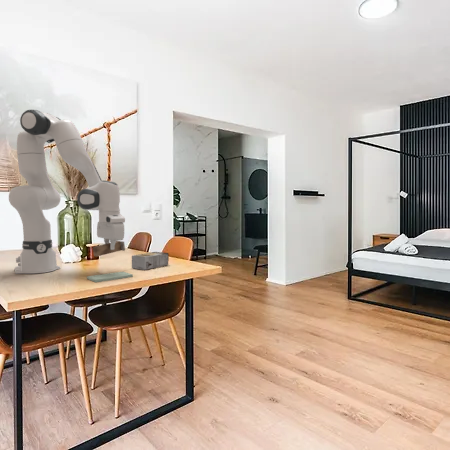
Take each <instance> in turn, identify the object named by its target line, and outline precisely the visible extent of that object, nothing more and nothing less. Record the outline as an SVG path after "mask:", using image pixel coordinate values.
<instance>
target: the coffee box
mask: <svg viewBox="0 0 450 450" xmlns="http://www.w3.org/2000/svg"><path fill="white" fill-rule="evenodd" d="M169 256H170V255H169V253H168V252H162V251H153V252H147V253H139V254H133V255H132V256H131V269H136V270H144V271H145V270H151V269H155V268H161V267H165V266H169Z"/></svg>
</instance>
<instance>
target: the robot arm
mask: <svg viewBox="0 0 450 450" xmlns="http://www.w3.org/2000/svg"><path fill="white" fill-rule="evenodd" d="M19 118H20V119H19V124H20V127H21V128H22V131H21V132H20V131H19V133H18V134H17V140H16V154H17V155H16V156H17V164H18V166H17V167H18V172H19V174H20V176H22V177H23V178H24V179H25V181H26V182H27V184H22V185H19V186H15V187H12V189H10V191H9V193H8V201H9V204H10V206H12V207H13V208H14V209H15V210H16V211H17V213H18V215H19V217H20V220H21V223H22V231H23V232H22V233H23V235H22V236H23V241H22V244H21V245H22V248H21V249H22V251H21V252H20V254H19V256H18V257H16V258H15V263H17V266H15V267H14V274H41V273H43V274H44V273H50V272H53V271H56V270H59V269H61V266H60V265H57V264H58V263H57V254H56V253H57V252H56V251H55V250H54V249H53V240H52V236H51V234H52V231H51V227H52V226H51V223H50V221H49V220H48V219H47V218H46V216H45V215H44V212H43V210H44V211H48V210H51V209H54V208H57V207H58V206H59V205H60V203H61V194H60V193H59V191H58V190H57V189H56V188H55V186H54V185H53V182H52V181H51V179H50V177H49V174H48V170H47V163H46V156H45V155H46V153H45V143H48V144H51V143H53V142H54V143H55V145H56V148H57V151H58V153H59V155H60V157H61V159H62V160H63V162H65V163H66V164H67V165H69V166H71V167H73V168H74V169H76V170H78V171H79V172H80V173H81V174H82V175H83V176H84V179H85V180H86V182H87V185H88V187H87V188H83V189H81V190H80V191H79V192H78V193H77V198H76V200H77V205H78V207H80V208H81V209H83V210H85V211H98V222H97V226H96V235H97V238H100V239H103V242H104V244H108V243H110V246H109V249H110V250H114V249H115V243H116V241H124V238H125V222H126V218H125V216H123V215H122V214H121V209H120V203H121V197H120V196H121V195H120V193H121V192H120V188H119V184H117V183H116V182H114V181H110V180H109V181H108V180H102V178H101V176H100V174H99V172H98V170H97V168H96V166H95V164H94V162H93V160H92V159H91V156H90V155H89V153H88V150H87V149H86V146H85V144H84V141H83V138H82V136H81V135H80V132H79V130H78V129H77V127H76V125H75V123H73V121H72V120H70V119H61V118H59V117H57V116H54V115H52V114H50V113H48V112H44V111H40V110H37V109H27V110H24V112H23V113H22V114H21V115H20V117H19Z"/></svg>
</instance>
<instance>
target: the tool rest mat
mask: <svg viewBox="0 0 450 450" xmlns="http://www.w3.org/2000/svg"><path fill="white" fill-rule="evenodd" d="M133 276H134V275H133V273H129V272H125V271H118V272H110V273H104V274H103V273H102V274H95V275H89V276H86V280H89V281H91V282H94V283H101V282H107V281H113V280H121V279H126V278H127V279H129V278H133Z"/></svg>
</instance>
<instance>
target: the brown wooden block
mask: <svg viewBox="0 0 450 450" xmlns="http://www.w3.org/2000/svg"><path fill="white" fill-rule="evenodd" d="M110 243H111V242H110ZM110 243H108V244H105V243H104V244H103V243H102V244H99V245H96V246H95V245H94V246H92V251H93V256H94V257H100V256H104V255H108V254H109V255H110V254H112V253H116V252H121V251H122V252H123V251H124V252H125V251H126V246H125V241H124V240H118V241H116V243H115V249H114V250H110V249H109V246H110Z"/></svg>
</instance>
